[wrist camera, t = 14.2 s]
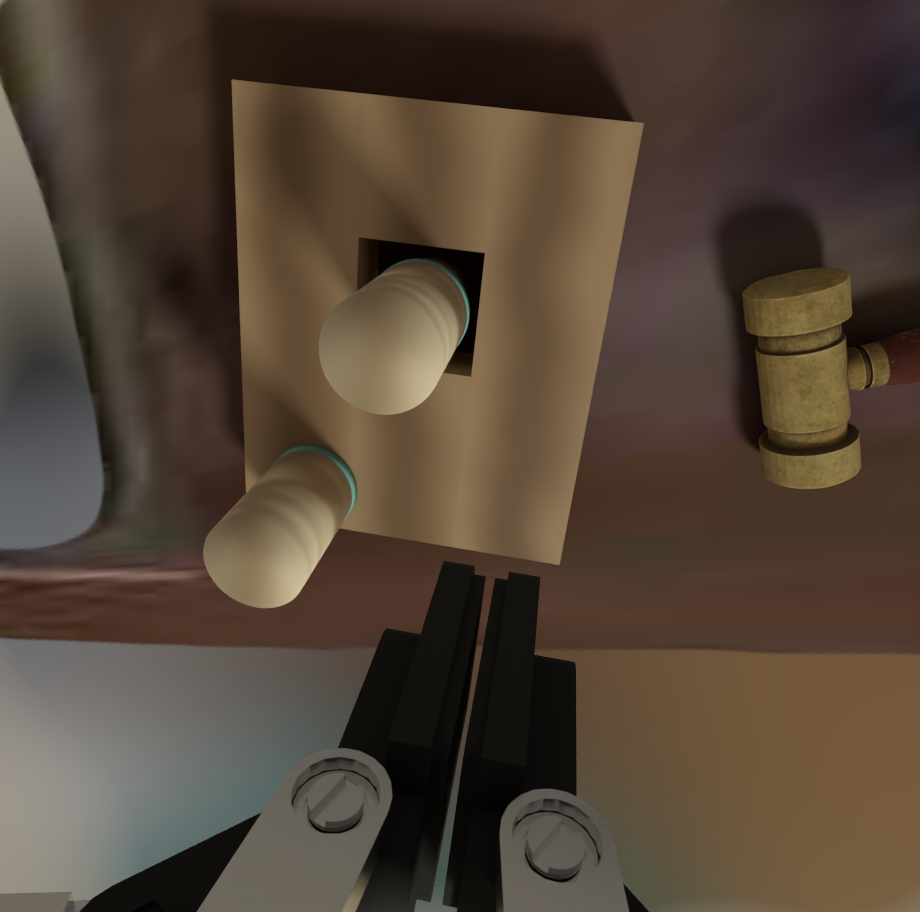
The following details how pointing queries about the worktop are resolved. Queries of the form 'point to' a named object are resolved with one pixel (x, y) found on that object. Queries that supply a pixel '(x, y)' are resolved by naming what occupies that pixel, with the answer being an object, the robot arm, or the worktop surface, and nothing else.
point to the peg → (396, 335)
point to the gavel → (815, 374)
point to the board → (466, 375)
